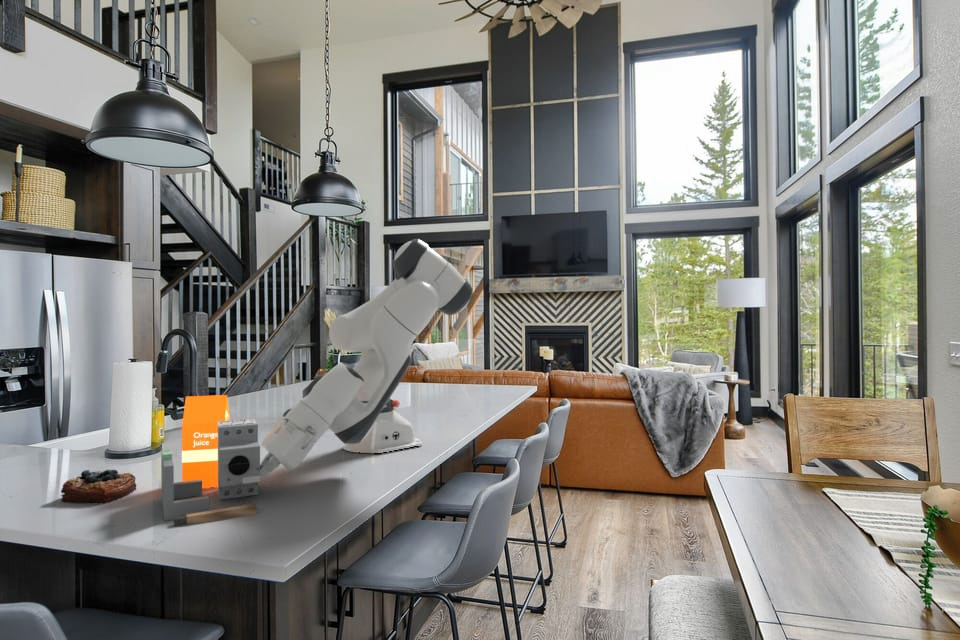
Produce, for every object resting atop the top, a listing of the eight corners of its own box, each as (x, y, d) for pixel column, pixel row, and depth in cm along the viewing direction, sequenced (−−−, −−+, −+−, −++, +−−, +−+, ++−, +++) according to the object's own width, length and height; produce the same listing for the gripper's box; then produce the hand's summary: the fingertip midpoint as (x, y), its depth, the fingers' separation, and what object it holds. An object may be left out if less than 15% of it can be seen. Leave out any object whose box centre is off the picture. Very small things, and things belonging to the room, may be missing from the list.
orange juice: (225, 486, 127) (225, 397, 127) (181, 490, 124) (181, 398, 124) (230, 477, 134) (229, 392, 134) (188, 480, 132) (188, 394, 132)
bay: (201, 493, 122) (201, 442, 122) (209, 513, 109) (208, 456, 109) (161, 499, 118) (161, 446, 118) (164, 520, 105) (164, 461, 105)
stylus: (255, 511, 111) (255, 503, 111) (256, 514, 109) (256, 505, 109) (174, 524, 104) (174, 516, 104) (174, 527, 102) (174, 518, 102)
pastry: (94, 488, 127) (94, 462, 127) (145, 490, 126) (144, 463, 126) (52, 504, 116) (52, 475, 116) (107, 506, 115) (107, 477, 115)
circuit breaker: (220, 508, 112) (220, 432, 112) (217, 489, 125) (217, 421, 125) (261, 503, 115) (260, 429, 115) (254, 484, 128) (254, 418, 128)
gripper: (329, 441, 118) (281, 496, 113) (304, 426, 135) (260, 473, 130) (307, 422, 116) (257, 477, 111) (284, 409, 133) (239, 456, 128)
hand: (259, 474), depth 121 cm, fingers closed
